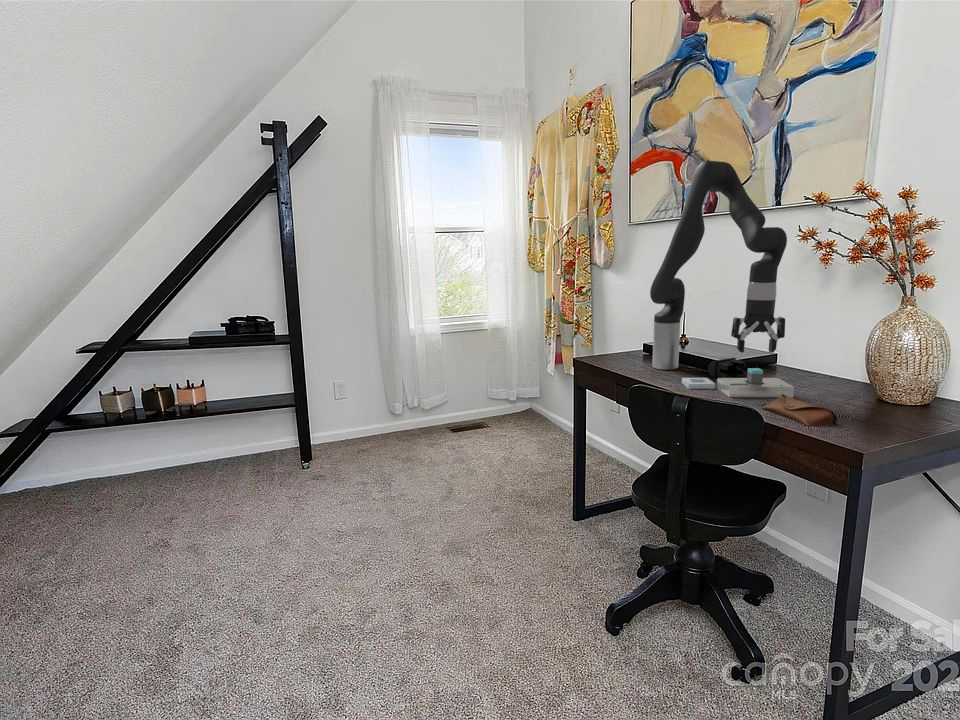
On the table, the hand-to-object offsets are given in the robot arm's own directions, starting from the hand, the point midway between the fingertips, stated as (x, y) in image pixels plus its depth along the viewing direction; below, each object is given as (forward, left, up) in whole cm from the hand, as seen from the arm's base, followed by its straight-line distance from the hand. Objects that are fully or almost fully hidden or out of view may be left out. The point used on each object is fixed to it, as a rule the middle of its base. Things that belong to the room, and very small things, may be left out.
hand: (756, 352), depth 161 cm
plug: (0, 0, -12) cm, 12 cm away
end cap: (-21, -1, -14) cm, 25 cm away
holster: (-8, -14, -13) cm, 21 cm away
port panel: (0, 0, -13) cm, 13 cm away
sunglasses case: (+20, +3, -14) cm, 25 cm away
